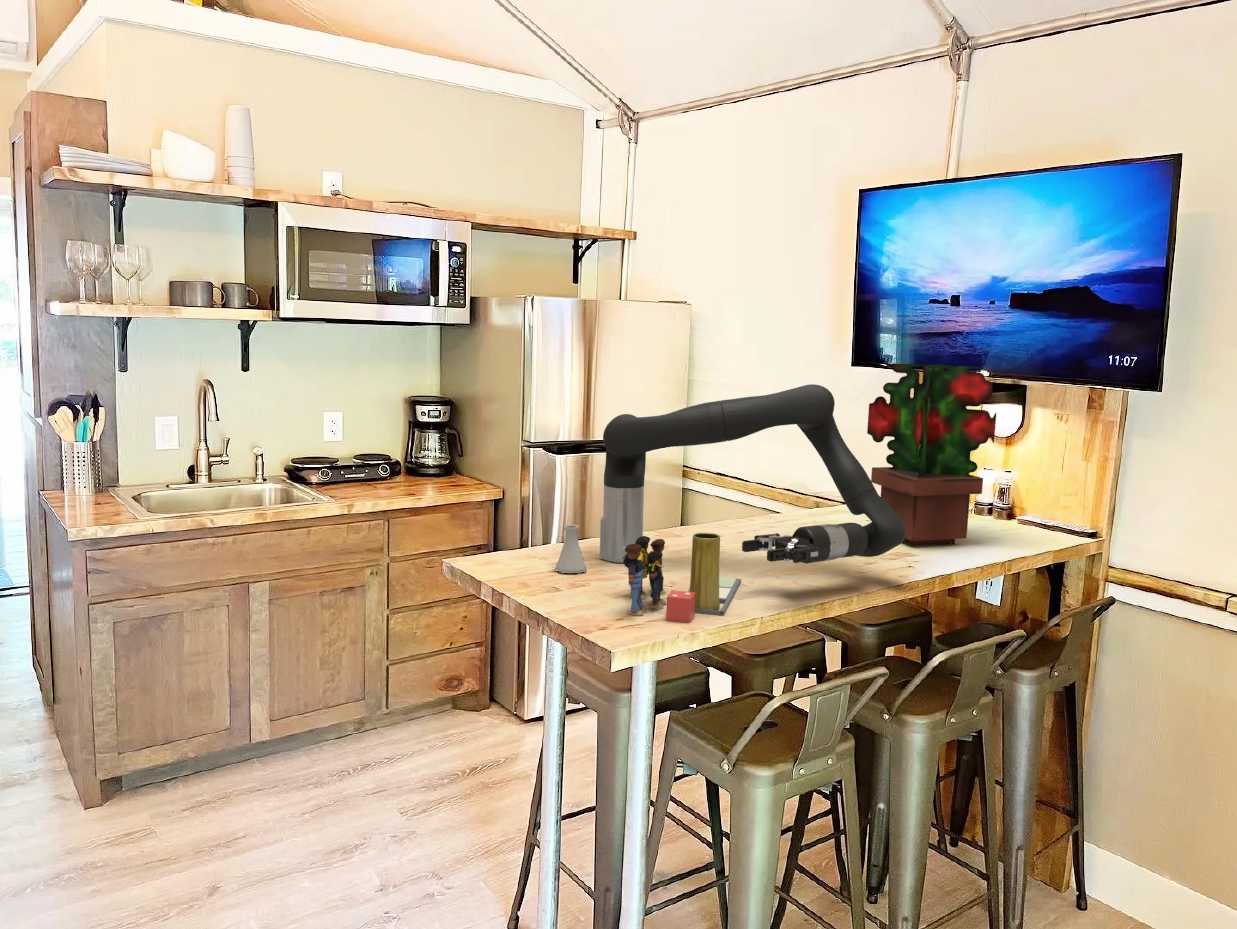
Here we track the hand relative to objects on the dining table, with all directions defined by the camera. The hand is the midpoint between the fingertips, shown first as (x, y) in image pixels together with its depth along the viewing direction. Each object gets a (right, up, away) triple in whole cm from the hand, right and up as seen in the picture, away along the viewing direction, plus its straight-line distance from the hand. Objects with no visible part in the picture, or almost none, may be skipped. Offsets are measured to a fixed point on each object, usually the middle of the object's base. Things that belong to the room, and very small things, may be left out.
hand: (755, 551), depth 190 cm
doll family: (-22, -10, -1) cm, 24 cm away
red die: (-16, -11, -10) cm, 22 cm away
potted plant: (+51, -2, +58) cm, 77 cm away
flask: (-38, -6, +21) cm, 43 cm away
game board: (-8, -9, +4) cm, 13 cm away
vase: (-11, -11, -3) cm, 15 cm away
